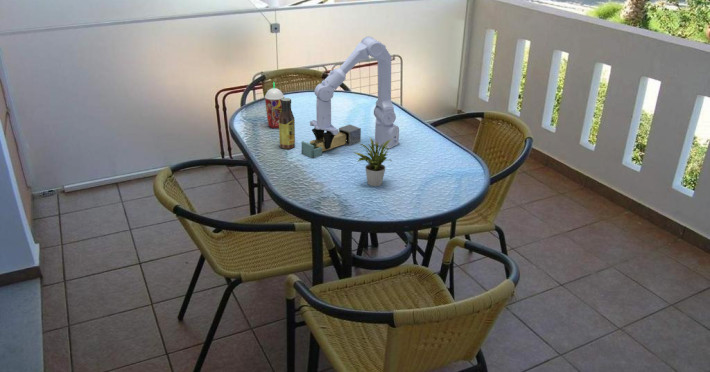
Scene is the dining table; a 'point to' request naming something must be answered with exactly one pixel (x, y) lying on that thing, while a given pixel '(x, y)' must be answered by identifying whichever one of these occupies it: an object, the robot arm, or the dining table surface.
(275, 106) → the smoothie
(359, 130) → the sleeve
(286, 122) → the sauce bottle
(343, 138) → the block
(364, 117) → the dining table surface
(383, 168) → the house plant
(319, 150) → the socket
